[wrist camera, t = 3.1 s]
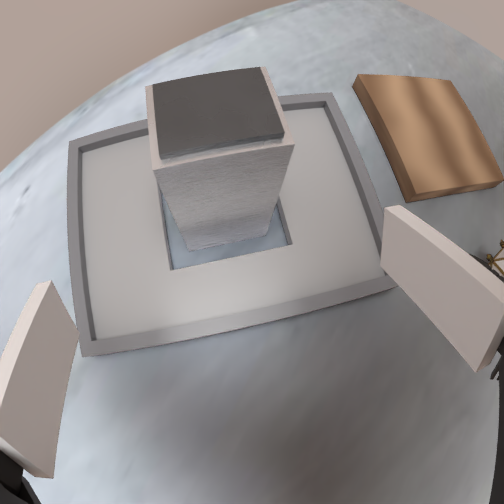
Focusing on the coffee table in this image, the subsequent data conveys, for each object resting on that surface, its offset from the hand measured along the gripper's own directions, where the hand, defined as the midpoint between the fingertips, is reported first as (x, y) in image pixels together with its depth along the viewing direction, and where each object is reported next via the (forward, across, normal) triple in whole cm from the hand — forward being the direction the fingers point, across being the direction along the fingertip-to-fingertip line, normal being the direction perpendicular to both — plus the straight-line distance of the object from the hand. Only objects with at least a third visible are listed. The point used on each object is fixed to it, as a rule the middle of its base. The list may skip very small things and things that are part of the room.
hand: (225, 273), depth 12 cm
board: (+17, +24, 0) cm, 30 cm away
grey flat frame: (+14, +1, -4) cm, 14 cm away
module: (+14, +1, -4) cm, 14 cm away
